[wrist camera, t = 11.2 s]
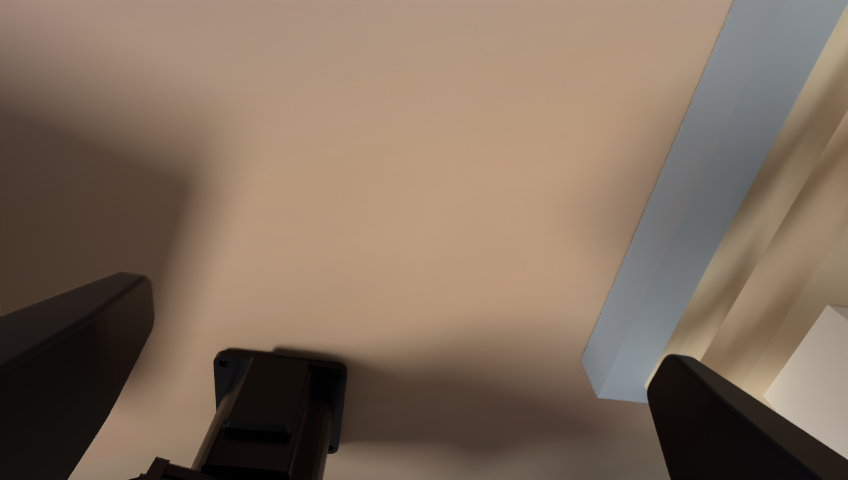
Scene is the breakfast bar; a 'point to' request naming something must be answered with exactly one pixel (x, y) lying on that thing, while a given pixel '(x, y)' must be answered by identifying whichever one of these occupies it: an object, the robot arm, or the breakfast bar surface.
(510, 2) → the breakfast bar surface
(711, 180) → the dock
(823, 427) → the white cube
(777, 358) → the tan long bar
